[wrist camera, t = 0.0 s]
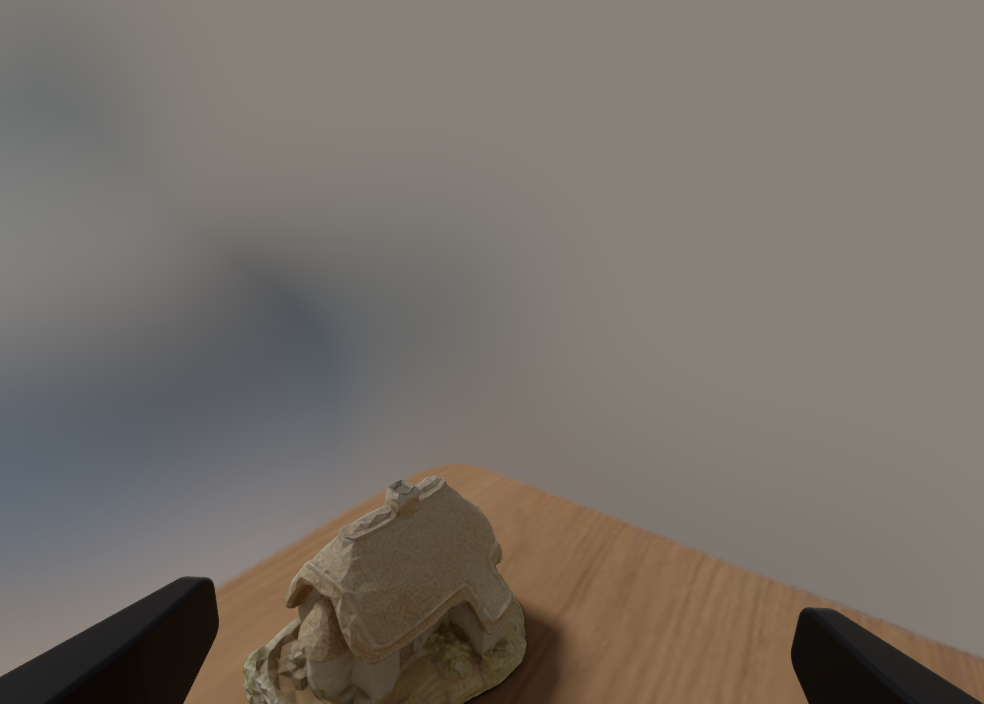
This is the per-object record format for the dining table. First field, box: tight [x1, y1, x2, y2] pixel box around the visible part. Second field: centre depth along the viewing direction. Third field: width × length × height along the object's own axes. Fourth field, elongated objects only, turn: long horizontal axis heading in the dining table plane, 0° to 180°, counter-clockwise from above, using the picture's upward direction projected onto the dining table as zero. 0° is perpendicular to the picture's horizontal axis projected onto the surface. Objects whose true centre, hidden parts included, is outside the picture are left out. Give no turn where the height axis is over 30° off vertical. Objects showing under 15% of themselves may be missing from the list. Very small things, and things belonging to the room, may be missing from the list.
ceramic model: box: [243, 475, 527, 704], centre depth 24 cm, size 14×11×10 cm
